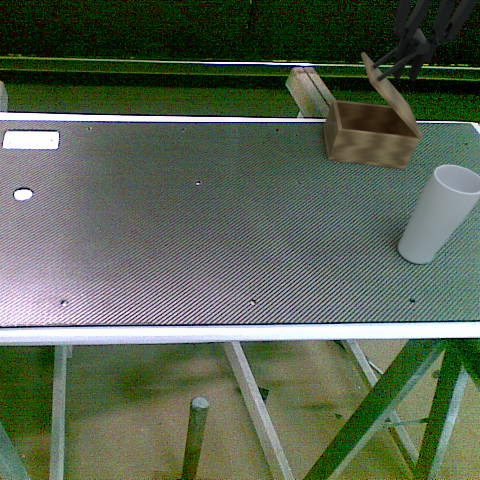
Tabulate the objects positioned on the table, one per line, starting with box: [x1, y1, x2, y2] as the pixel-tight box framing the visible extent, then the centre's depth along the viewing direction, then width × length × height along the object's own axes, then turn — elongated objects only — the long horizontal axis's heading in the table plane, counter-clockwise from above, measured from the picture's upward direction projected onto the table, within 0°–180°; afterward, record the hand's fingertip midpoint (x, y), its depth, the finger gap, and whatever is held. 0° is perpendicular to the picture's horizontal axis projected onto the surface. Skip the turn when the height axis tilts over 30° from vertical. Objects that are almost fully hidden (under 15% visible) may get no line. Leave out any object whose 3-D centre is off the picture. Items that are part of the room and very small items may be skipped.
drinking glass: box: [397, 164, 480, 265], centre depth 70 cm, size 7×7×15 cm
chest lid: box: [360, 28, 430, 139], centre depth 85 cm, size 15×12×10 cm
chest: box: [322, 99, 421, 170], centre depth 94 cm, size 15×12×7 cm
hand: (403, 76), depth 85 cm, fingers closed on chest lid, 2 cm apart
